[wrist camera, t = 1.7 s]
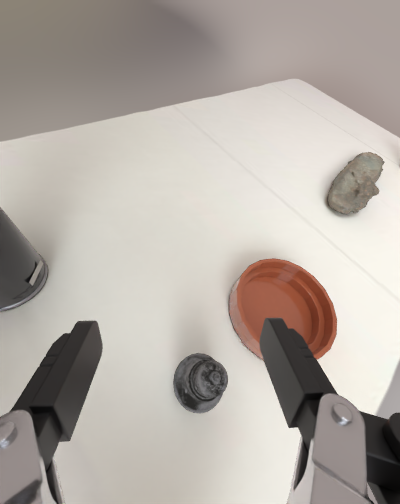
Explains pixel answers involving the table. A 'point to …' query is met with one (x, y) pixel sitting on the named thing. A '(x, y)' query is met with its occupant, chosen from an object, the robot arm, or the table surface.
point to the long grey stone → (356, 183)
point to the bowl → (282, 304)
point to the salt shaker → (199, 383)
